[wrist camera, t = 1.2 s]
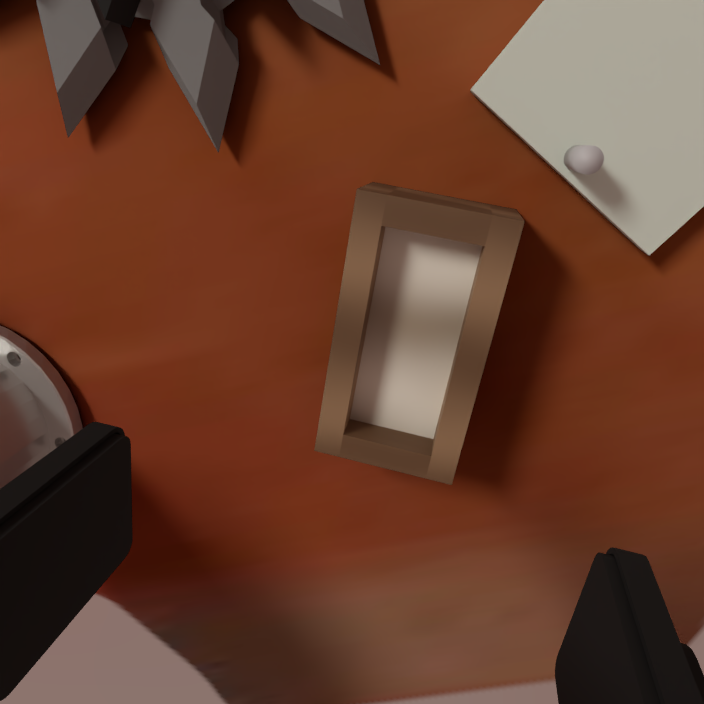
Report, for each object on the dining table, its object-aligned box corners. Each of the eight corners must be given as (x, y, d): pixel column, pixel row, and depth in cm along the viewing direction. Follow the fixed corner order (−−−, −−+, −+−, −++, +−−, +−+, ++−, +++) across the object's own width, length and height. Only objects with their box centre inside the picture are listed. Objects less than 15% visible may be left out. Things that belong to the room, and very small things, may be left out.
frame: (453, 442, 29) (451, 484, 26) (333, 412, 30) (314, 450, 26) (516, 209, 25) (524, 221, 21) (372, 182, 26) (356, 188, 22)
